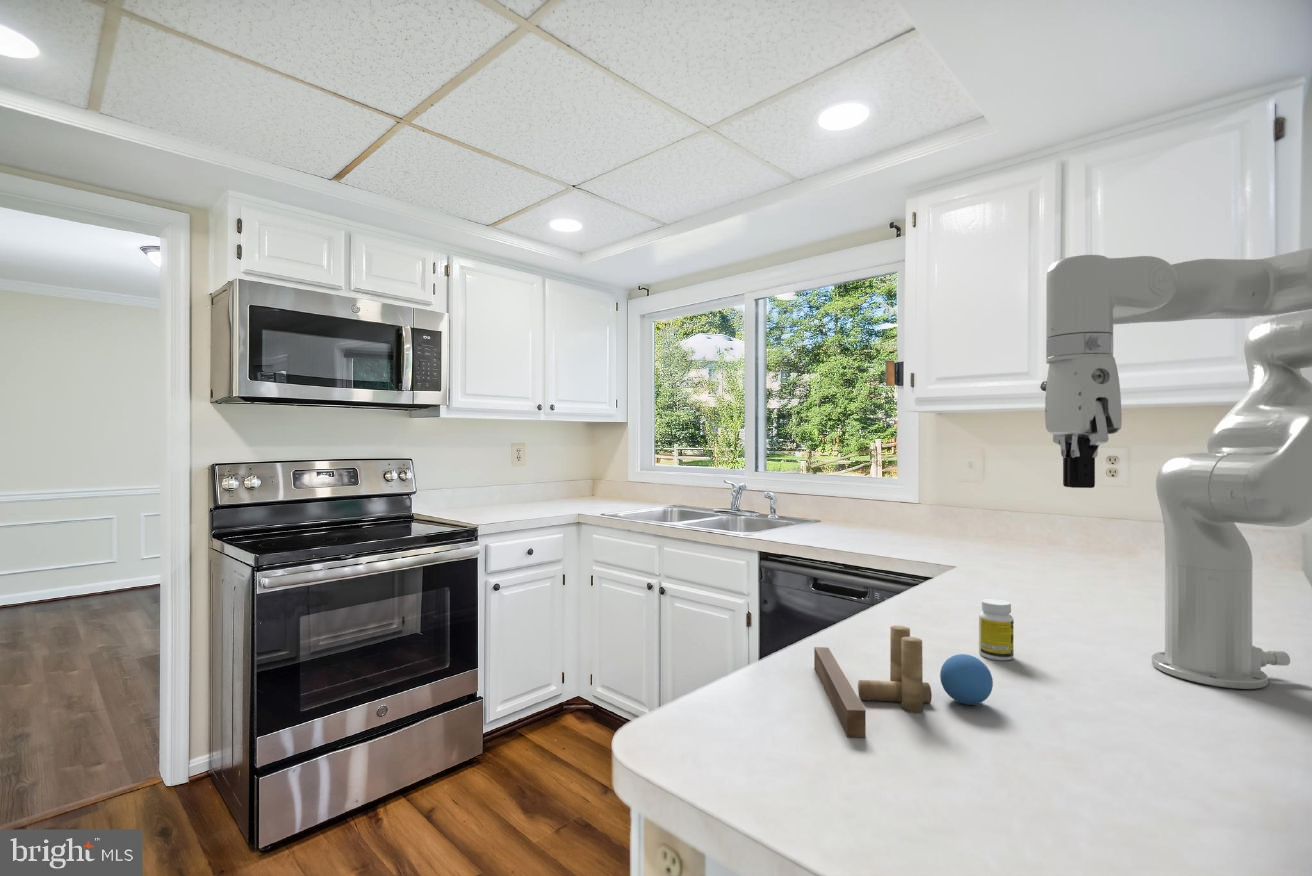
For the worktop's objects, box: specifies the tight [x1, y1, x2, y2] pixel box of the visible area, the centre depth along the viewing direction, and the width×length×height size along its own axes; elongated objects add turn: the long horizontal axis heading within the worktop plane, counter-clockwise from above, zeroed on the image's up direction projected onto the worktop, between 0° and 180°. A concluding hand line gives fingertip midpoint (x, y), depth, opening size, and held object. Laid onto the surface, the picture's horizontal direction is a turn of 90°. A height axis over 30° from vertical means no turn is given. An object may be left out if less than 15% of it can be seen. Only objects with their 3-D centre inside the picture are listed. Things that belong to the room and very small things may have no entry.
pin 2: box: [901, 636, 924, 713], centre depth 79 cm, size 2×2×8 cm
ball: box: [939, 653, 994, 706], centre depth 81 cm, size 6×6×6 cm
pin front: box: [857, 679, 933, 704], centre depth 82 cm, size 2×2×8 cm
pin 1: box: [889, 625, 911, 682], centre depth 84 cm, size 2×2×8 cm
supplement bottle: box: [978, 598, 1015, 662], centre depth 99 cm, size 5×5×8 cm
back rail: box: [813, 646, 867, 739], centre depth 82 cm, size 2×22×3 cm, turn 175°
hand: (1078, 487), depth 86 cm, fingers closed
